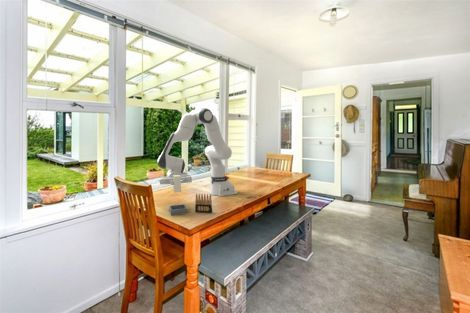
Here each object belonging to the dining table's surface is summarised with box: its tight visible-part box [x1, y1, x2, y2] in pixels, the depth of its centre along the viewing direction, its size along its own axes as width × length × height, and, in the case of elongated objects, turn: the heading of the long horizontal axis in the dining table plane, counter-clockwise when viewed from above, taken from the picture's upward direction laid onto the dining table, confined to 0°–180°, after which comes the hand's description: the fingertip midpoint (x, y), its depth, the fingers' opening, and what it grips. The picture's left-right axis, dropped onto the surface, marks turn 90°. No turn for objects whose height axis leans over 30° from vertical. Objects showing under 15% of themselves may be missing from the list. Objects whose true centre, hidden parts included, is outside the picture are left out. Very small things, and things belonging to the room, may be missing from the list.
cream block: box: [173, 175, 182, 193], centre depth 157 cm, size 4×4×10 cm
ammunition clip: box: [194, 193, 213, 214], centre depth 157 cm, size 11×2×12 cm, turn 81°
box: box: [168, 203, 188, 216], centre depth 158 cm, size 10×10×3 cm
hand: (177, 182), depth 156 cm, fingers closed on cream block, 4 cm apart
